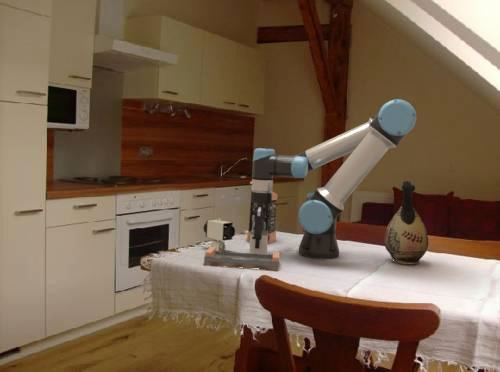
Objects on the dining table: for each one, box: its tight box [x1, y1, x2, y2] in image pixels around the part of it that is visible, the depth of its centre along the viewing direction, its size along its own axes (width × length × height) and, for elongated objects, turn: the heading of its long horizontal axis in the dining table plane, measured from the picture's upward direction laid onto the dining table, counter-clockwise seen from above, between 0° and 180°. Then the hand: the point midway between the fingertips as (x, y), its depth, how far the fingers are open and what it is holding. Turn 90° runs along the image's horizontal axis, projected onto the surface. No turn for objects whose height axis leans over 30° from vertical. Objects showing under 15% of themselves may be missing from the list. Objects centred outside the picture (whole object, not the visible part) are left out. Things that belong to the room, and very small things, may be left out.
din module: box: [248, 230, 269, 255], centre depth 187 cm, size 6×5×9 cm
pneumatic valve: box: [203, 217, 236, 252], centre depth 193 cm, size 6×12×12 cm, turn 53°
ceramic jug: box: [383, 180, 429, 265], centre depth 189 cm, size 17×15×30 cm
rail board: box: [203, 246, 281, 272], centre depth 173 cm, size 24×12×4 cm, turn 84°
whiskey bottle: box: [246, 190, 279, 245], centre depth 215 cm, size 10×10×32 cm
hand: (257, 254), depth 188 cm, fingers open, 7 cm apart
